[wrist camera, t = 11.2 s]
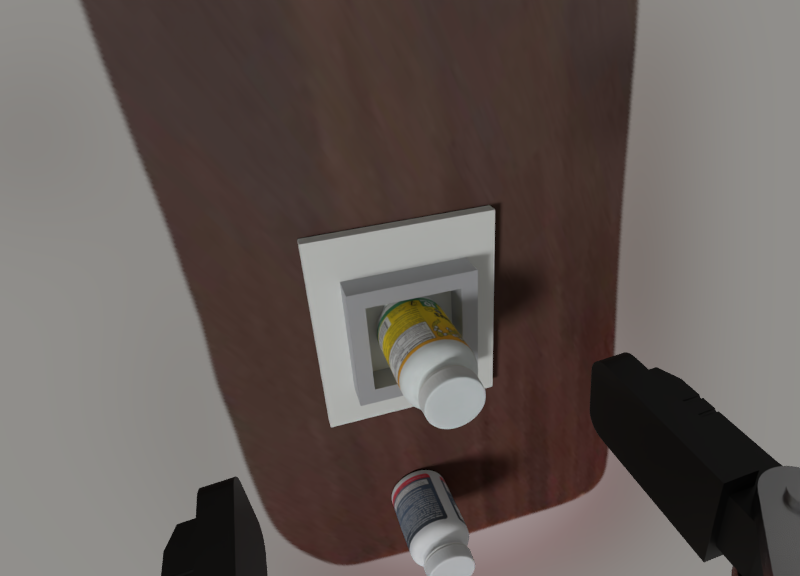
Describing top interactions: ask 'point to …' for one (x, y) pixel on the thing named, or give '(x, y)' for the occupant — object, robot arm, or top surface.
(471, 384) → the supplement bottle
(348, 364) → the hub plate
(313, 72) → the top surface
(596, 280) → the top surface
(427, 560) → the pill bottle
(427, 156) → the top surface
